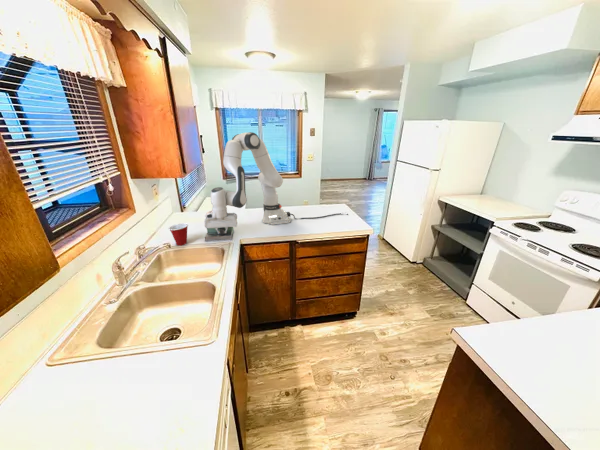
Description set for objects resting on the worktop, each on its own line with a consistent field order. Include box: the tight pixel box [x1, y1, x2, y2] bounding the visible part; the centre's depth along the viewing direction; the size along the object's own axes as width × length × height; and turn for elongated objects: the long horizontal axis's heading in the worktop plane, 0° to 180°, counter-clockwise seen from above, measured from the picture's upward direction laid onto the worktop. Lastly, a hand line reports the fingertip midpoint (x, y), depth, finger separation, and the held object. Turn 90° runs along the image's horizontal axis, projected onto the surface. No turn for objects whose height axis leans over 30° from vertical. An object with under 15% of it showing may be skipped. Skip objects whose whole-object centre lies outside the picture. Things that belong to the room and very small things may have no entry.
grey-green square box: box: [204, 227, 234, 242], centre depth 159 cm, size 16×16×12 cm
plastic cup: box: [168, 223, 189, 247], centre depth 147 cm, size 11×11×12 cm
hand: (222, 233), depth 156 cm, fingers closed on slider, 2 cm apart
